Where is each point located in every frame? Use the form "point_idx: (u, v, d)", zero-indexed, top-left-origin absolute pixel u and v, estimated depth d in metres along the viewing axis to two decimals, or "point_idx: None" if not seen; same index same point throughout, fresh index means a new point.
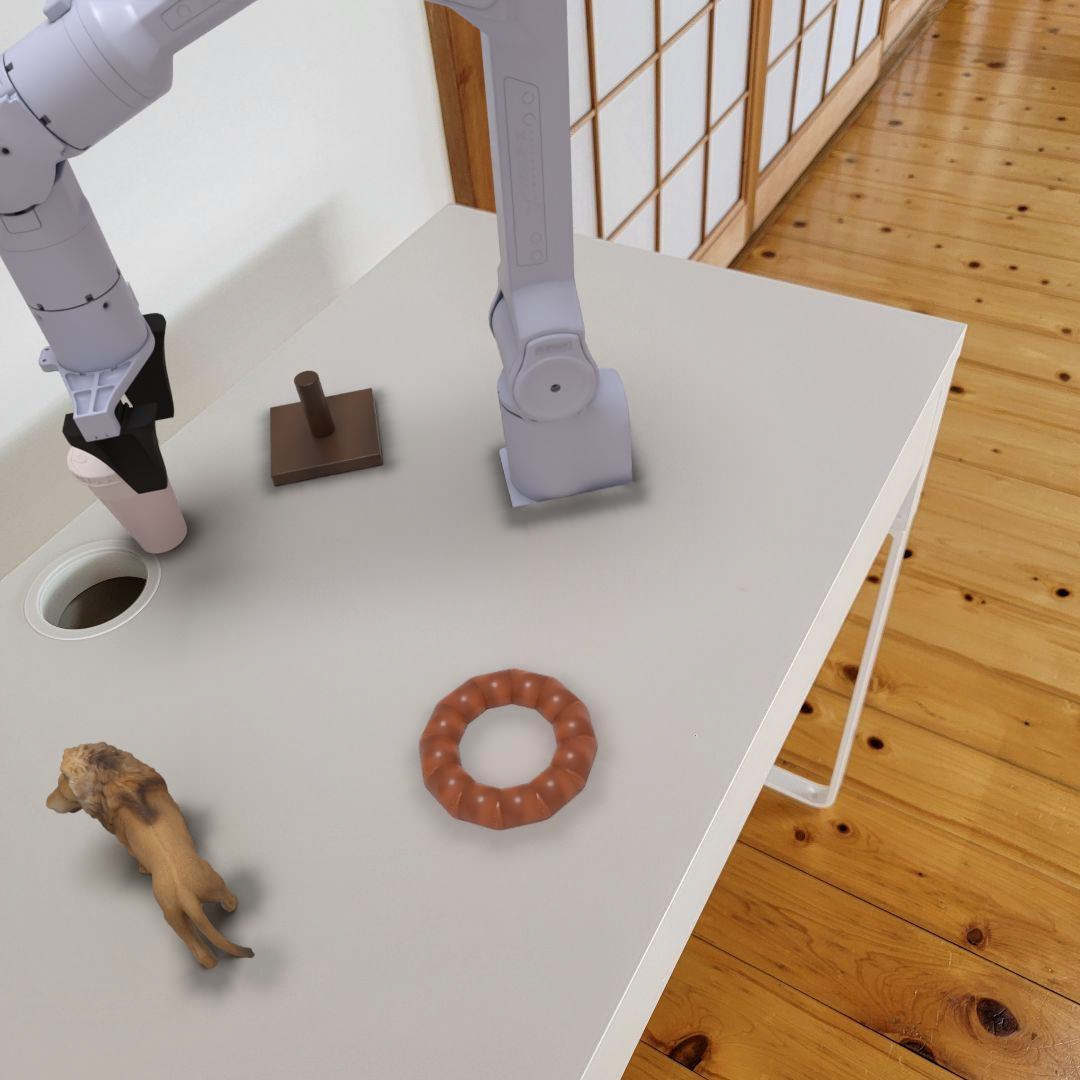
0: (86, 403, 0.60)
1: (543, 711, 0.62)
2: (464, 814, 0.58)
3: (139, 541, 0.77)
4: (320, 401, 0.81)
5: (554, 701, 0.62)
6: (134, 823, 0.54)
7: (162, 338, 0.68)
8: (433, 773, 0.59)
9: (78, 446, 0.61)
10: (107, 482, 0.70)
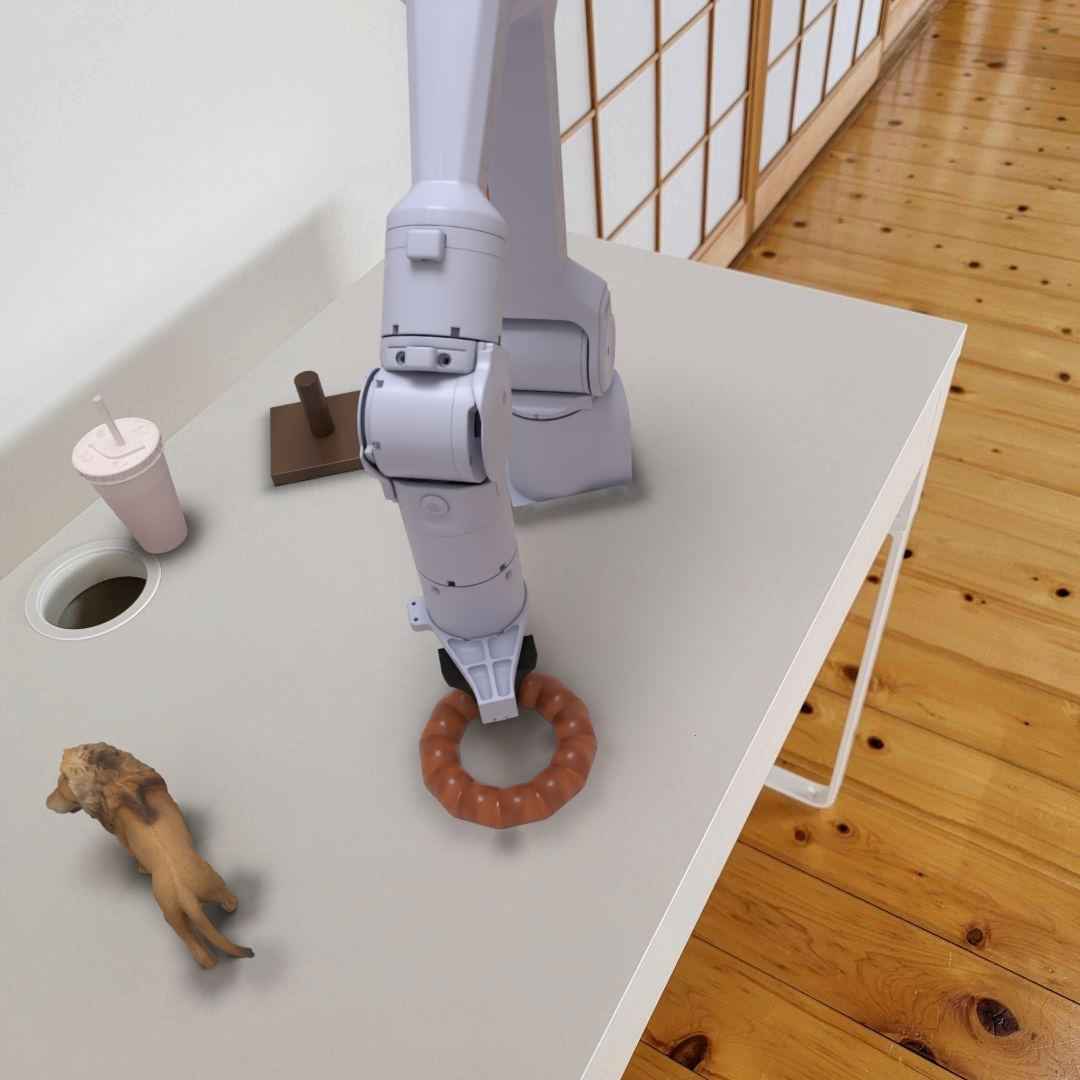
0: (481, 679, 0.54)
1: (543, 710, 0.62)
2: (464, 814, 0.58)
3: (140, 541, 0.77)
4: (320, 401, 0.81)
5: (554, 700, 0.62)
6: (134, 823, 0.54)
7: None
8: (433, 772, 0.60)
9: (456, 686, 0.57)
10: (112, 481, 0.70)
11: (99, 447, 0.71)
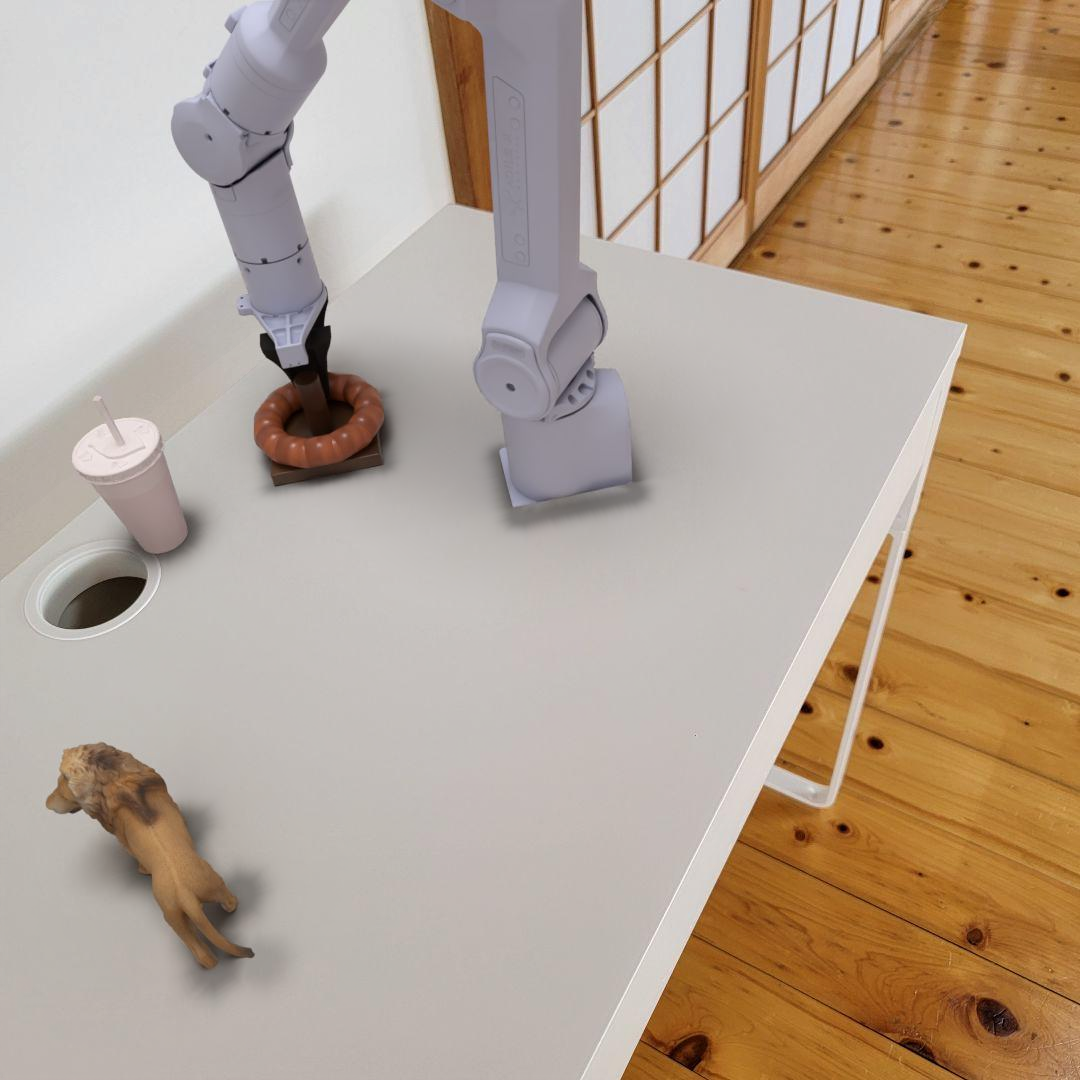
0: (282, 338, 0.76)
1: (347, 396, 0.84)
2: (280, 455, 0.80)
3: (140, 541, 0.77)
4: (320, 401, 0.81)
5: (355, 387, 0.84)
6: (134, 824, 0.54)
7: (326, 304, 0.82)
8: (260, 430, 0.81)
9: (271, 358, 0.79)
10: (112, 481, 0.70)
11: (99, 447, 0.71)
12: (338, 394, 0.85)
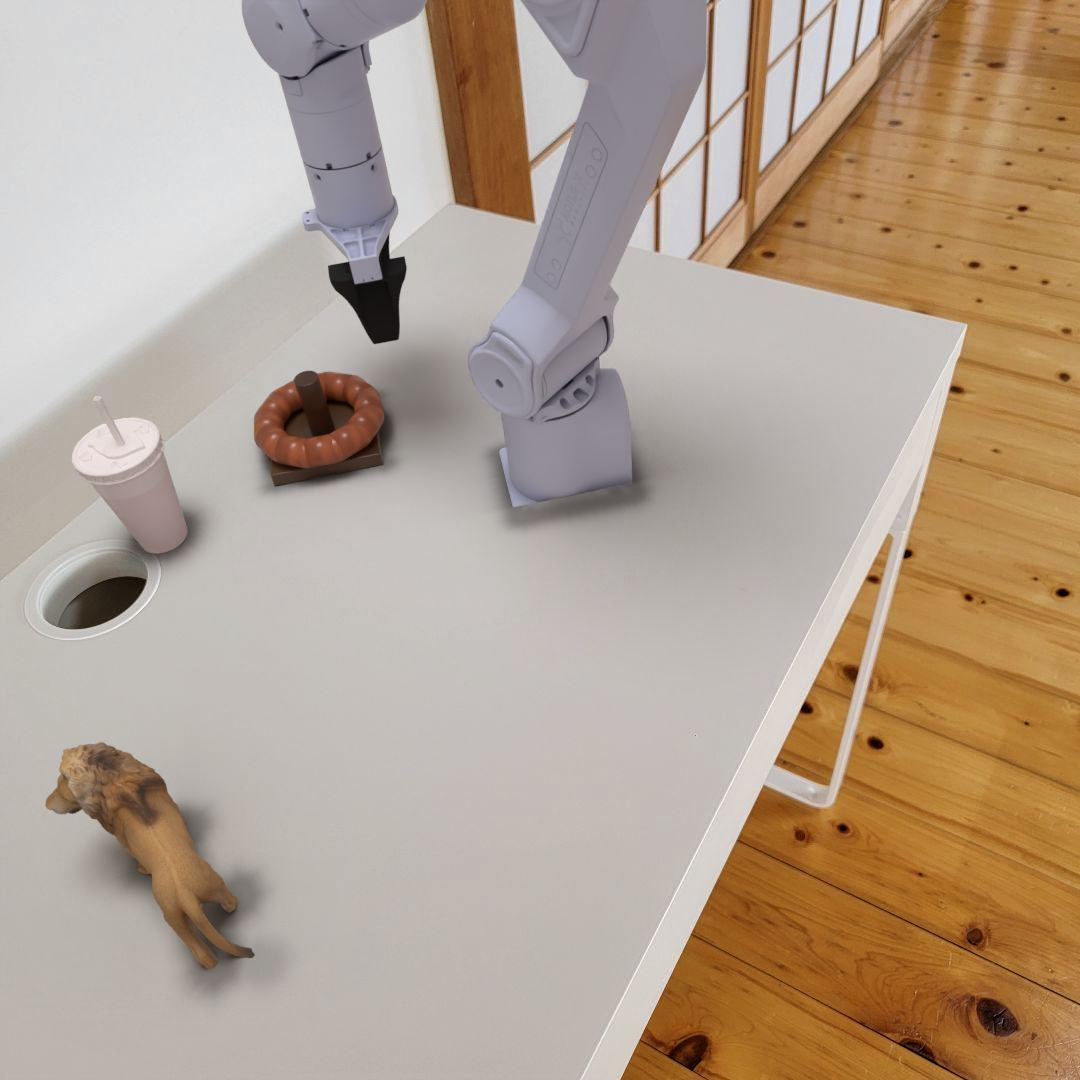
0: (354, 251, 0.71)
1: (347, 396, 0.84)
2: (280, 455, 0.80)
3: (140, 541, 0.77)
4: (320, 401, 0.81)
5: (355, 387, 0.84)
6: (134, 824, 0.54)
7: None
8: (260, 430, 0.81)
9: (341, 291, 0.72)
10: (112, 481, 0.70)
11: (99, 447, 0.71)
12: (338, 394, 0.85)
